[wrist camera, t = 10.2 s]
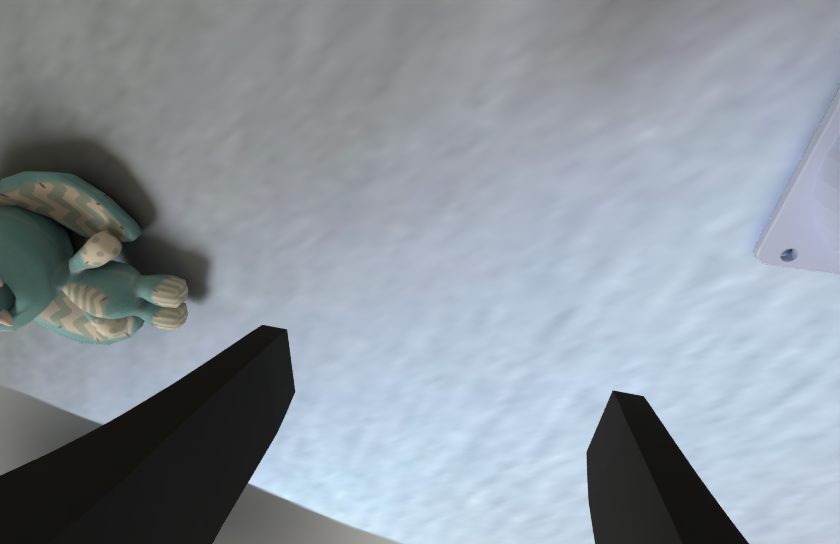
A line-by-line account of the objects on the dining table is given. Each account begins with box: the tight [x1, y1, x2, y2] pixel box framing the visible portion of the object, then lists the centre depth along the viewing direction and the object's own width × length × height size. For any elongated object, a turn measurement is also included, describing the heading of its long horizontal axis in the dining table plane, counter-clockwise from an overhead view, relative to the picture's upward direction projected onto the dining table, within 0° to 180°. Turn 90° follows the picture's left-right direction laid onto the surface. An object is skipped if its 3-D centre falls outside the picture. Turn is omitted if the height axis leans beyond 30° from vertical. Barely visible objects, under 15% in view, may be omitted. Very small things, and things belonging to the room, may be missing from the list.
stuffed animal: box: [0, 171, 189, 344], centre depth 21 cm, size 11×7×12 cm
